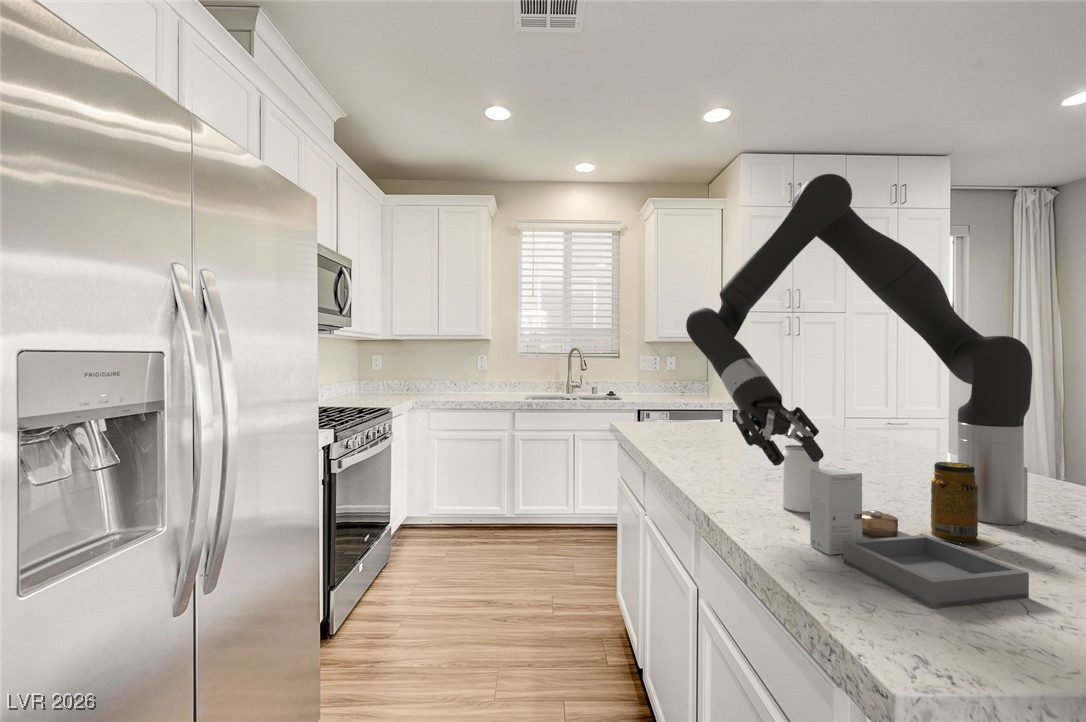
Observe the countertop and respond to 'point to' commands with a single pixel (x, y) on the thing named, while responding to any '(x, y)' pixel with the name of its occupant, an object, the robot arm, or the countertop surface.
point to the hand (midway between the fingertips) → (800, 461)
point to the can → (796, 479)
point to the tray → (936, 571)
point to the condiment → (956, 506)
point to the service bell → (879, 525)
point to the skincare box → (835, 508)
